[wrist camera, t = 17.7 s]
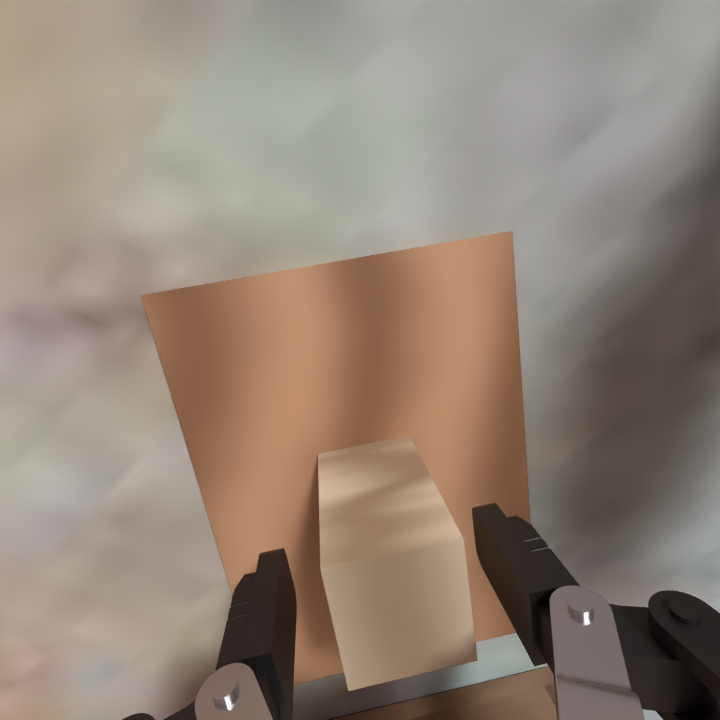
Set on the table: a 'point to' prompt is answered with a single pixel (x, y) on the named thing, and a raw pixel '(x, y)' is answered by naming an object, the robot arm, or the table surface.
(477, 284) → the lid
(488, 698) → the toolbox
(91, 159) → the table surface
